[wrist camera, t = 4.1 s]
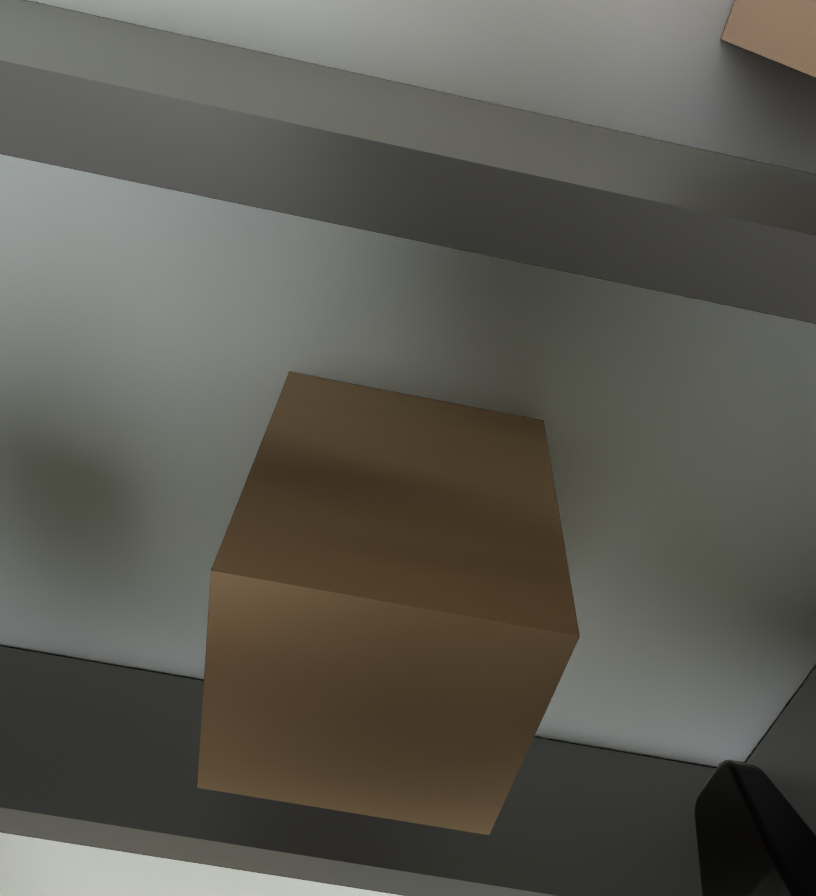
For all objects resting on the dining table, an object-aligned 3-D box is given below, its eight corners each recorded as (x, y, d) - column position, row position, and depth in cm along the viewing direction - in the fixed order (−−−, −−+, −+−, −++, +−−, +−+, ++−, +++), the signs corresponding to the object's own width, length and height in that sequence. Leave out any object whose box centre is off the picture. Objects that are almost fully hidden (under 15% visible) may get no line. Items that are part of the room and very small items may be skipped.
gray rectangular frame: (757, 799, 17) (813, 959, 14) (-106, 653, 16) (-218, 798, 13) (1182, 255, 10) (1441, 370, 7) (-296, -71, 9) (-613, -72, 6)
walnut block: (482, 599, 14) (488, 835, 11) (267, 560, 14) (197, 787, 10) (543, 419, 12) (579, 635, 8) (290, 369, 12) (210, 570, 8)
